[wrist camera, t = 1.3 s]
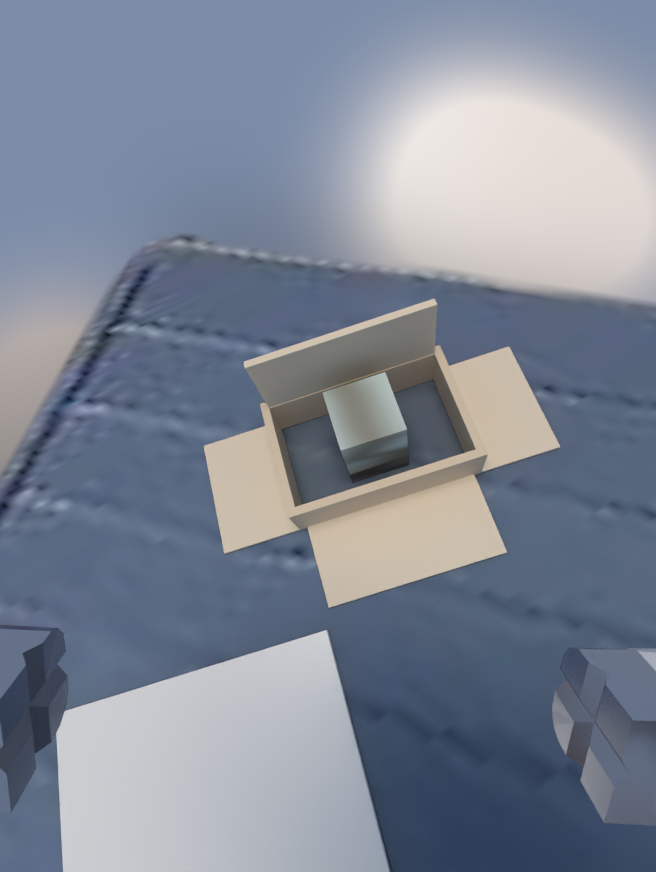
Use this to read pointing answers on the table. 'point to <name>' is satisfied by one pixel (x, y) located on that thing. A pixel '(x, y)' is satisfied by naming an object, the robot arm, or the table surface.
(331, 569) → the carton
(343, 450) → the box
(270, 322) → the table surface
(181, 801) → the white board
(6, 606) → the table surface
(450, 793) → the table surface
